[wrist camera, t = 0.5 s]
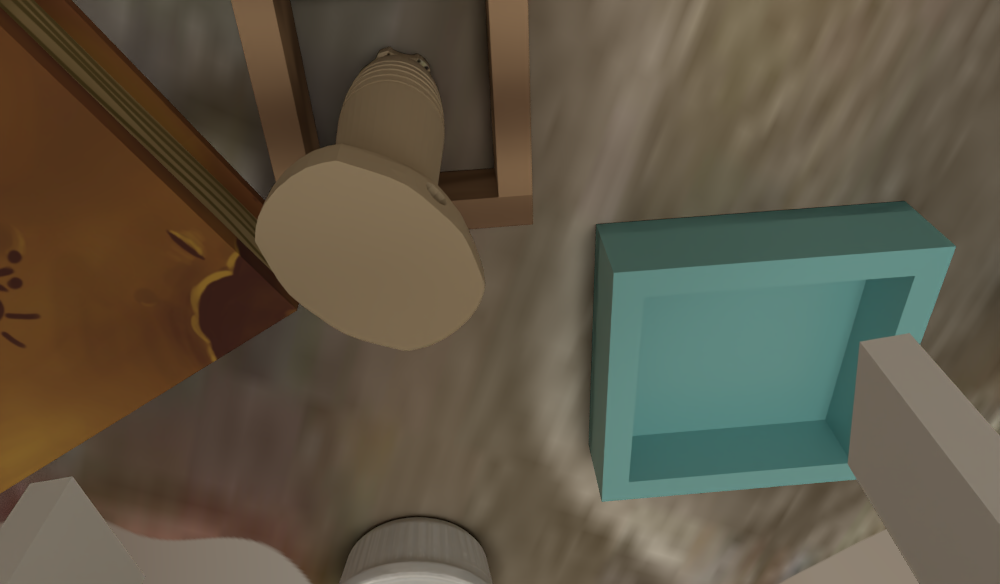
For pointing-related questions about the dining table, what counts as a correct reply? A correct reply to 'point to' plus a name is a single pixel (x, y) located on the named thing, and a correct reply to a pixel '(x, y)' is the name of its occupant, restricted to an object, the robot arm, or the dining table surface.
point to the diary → (108, 240)
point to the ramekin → (417, 555)
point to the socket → (473, 192)
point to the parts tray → (746, 341)
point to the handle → (376, 217)
